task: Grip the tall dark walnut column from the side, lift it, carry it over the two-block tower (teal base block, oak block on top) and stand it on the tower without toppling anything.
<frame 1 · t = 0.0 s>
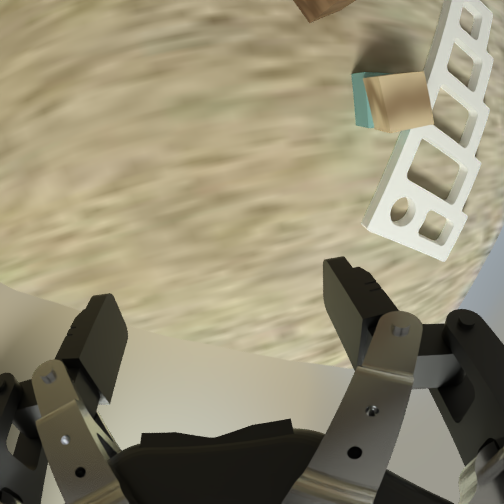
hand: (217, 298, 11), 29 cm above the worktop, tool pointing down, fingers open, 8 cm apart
tower base: (376, 99, 36), on the worktop, touching tower mid
walnut column: (314, 1, 29), on the worktop
holder: (455, 115, 37), on the worktop
tower mid: (391, 99, 32), point 4 cm above the worktop, touching tower base
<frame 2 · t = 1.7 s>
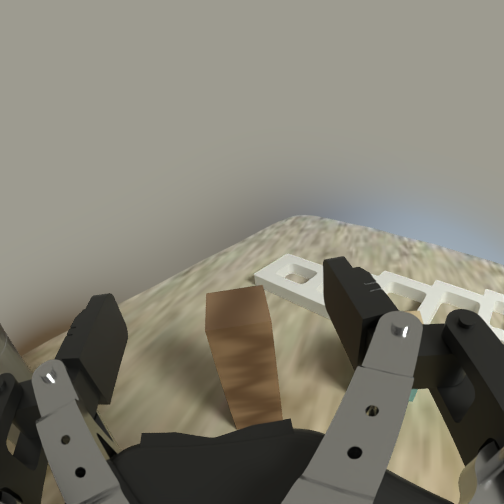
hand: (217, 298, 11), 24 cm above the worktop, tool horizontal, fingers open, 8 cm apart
walnut column: (257, 408, 32), on the worktop
holder: (394, 306, 45), on the worktop
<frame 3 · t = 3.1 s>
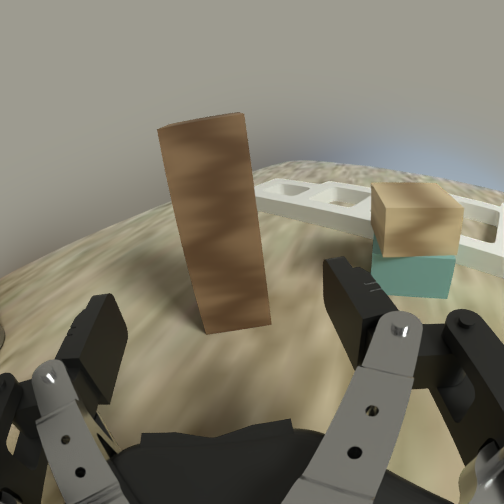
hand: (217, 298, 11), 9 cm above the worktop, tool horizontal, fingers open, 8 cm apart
tower base: (406, 276, 26), on the worktop, touching tower mid
walnut column: (236, 309, 25), on the worktop
holder: (402, 219, 38), on the worktop
tower mid: (411, 237, 24), point 4 cm above the worktop, touching tower base
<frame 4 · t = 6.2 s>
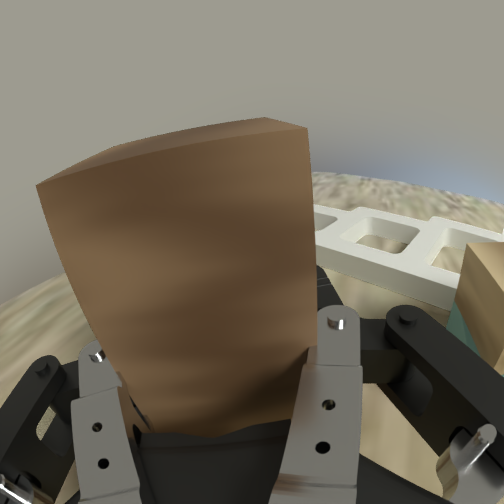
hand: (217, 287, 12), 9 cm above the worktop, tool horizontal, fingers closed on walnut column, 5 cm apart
tower base: (490, 373, 15), on the worktop, touching tower mid
walnut column: (254, 453, 14), on the worktop, touching gripper
holder: (456, 264, 27), on the worktop
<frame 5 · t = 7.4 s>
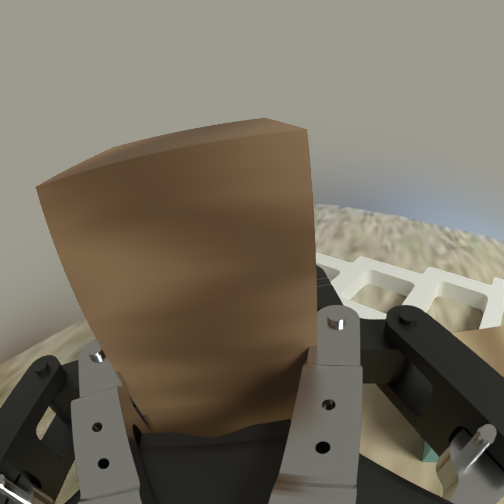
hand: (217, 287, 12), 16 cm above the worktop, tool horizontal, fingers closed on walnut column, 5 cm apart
walnut column: (254, 453, 14), point 7 cm above the worktop, touching gripper
holder: (446, 315, 30), on the worktop
tower mid: (479, 397, 16), point 4 cm above the worktop, touching tower base
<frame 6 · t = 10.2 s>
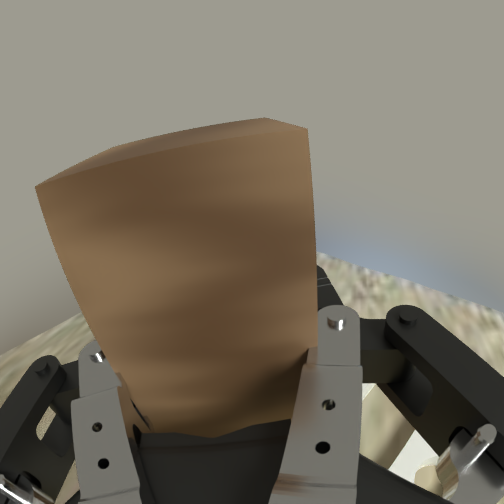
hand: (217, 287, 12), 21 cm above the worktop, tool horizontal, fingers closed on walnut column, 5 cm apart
walnut column: (254, 454, 14), point 12 cm above the worktop, touching gripper
holder: (309, 379, 33), on the worktop
when the fingers open (18 cm above the worktop, at t = 11.3 s): walnut column stays where it is, resting on tower mid.
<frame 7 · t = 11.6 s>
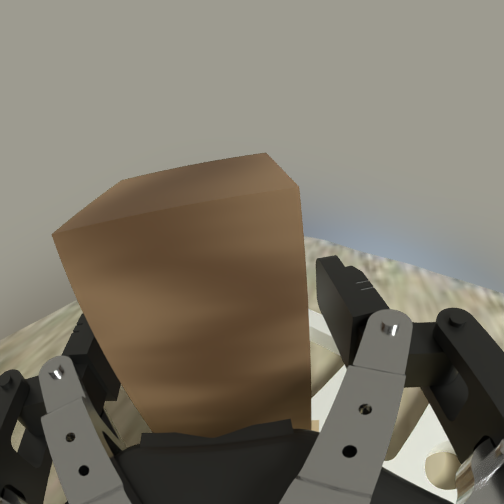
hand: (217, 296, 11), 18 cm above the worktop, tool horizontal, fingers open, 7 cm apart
walnut column: (257, 464, 14), point 8 cm above the worktop, touching tower mid
holder: (308, 363, 31), on the worktop
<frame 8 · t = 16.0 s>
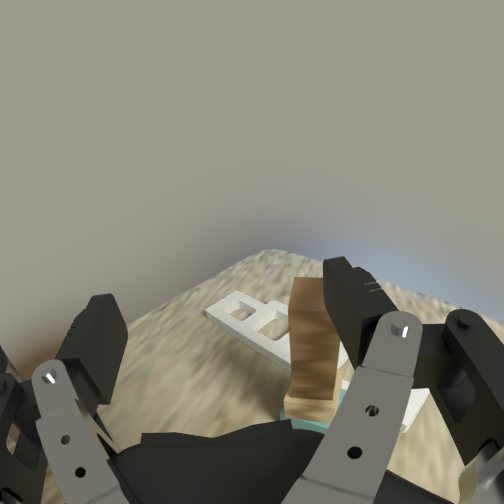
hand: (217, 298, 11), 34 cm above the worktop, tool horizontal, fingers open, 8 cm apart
tower base: (313, 416, 41), on the worktop, touching tower mid
walnut column: (314, 383, 37), point 8 cm above the worktop, touching tower mid
holder: (319, 343, 55), on the worktop
tower mid: (314, 401, 39), point 4 cm above the worktop, touching tower base, walnut column
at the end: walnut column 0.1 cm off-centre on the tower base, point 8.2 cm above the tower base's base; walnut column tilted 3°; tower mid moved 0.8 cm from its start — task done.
